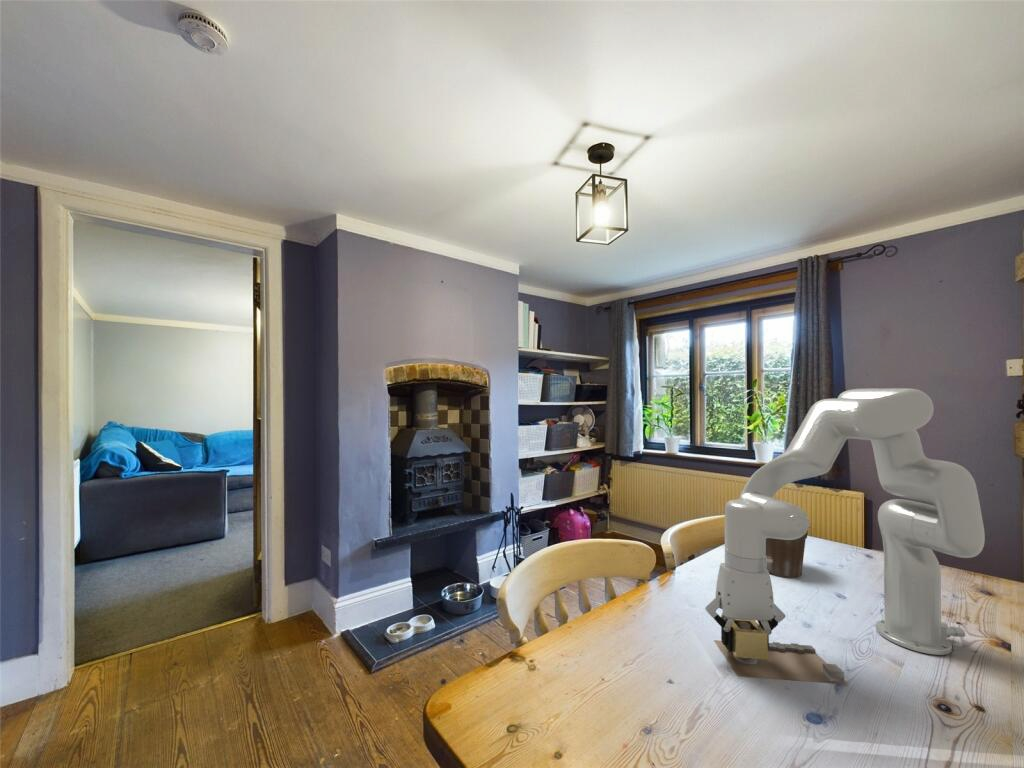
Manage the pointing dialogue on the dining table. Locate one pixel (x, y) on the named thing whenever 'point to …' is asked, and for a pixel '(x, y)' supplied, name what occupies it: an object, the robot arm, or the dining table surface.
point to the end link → (749, 640)
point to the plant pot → (786, 556)
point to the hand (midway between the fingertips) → (744, 648)
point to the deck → (784, 663)
